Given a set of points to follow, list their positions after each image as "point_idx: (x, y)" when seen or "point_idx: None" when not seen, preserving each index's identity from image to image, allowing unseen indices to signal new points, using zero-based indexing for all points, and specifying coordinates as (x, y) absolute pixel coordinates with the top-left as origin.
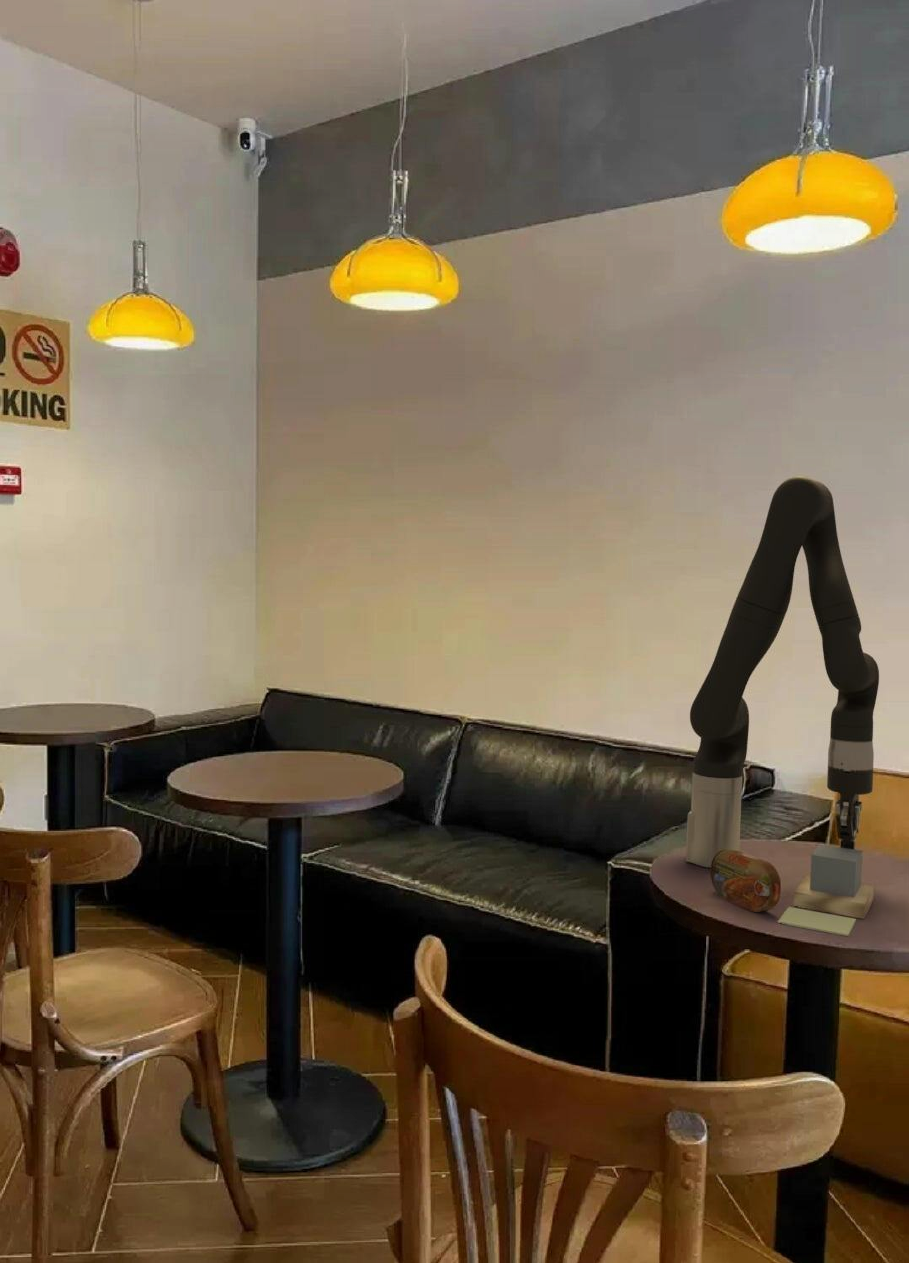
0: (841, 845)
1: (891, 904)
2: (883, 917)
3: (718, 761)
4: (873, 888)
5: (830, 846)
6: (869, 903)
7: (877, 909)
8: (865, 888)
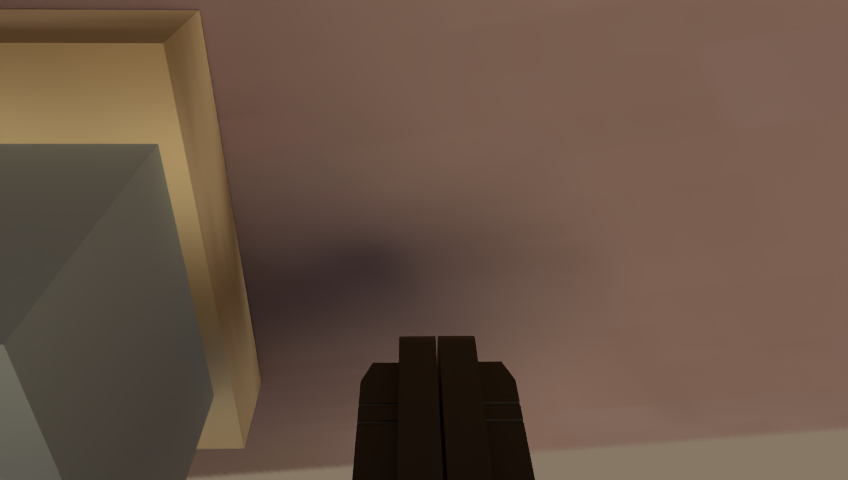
0: (397, 449)
1: (272, 446)
2: None
3: None
4: (232, 442)
5: (28, 443)
6: None
7: None
8: None
